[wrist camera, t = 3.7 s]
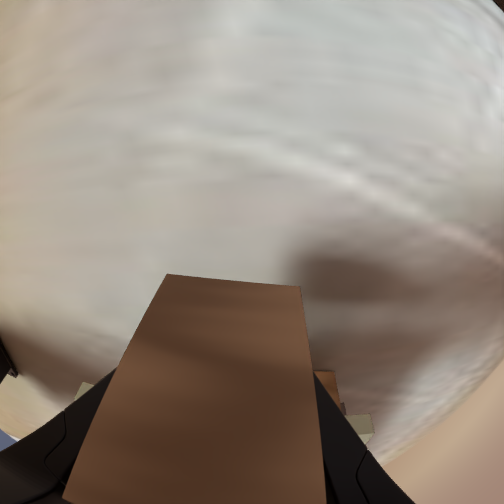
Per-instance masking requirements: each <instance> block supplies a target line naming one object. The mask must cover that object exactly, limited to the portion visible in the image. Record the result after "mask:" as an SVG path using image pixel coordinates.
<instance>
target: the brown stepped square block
mask: <svg viewBox="0 0 504 504" xmlns="http://www.w3.org/2000/svg"><path fill="white" fill-rule="evenodd" d="M62 498H63V499H64V500H66V501H67V502H69V503H70V504H327V503H326V490H325V478H324V467H323V456H322V446H321V437H320V427H319V419H318V410H317V402H316V394H315V386H314V378H313V371H312V363H311V356H310V349H309V342H308V335H307V329H306V322H305V316H304V309H303V303H302V297H301V291H300V287H299V286H287V285H275V284H263V283H252V282H241V281H231V280H220V279H210V278H201V277H191V276H182V275H173V274H166V276H165V278H164V280H163V282H162V283H161V285H160V287H159V289H158V290H157V292H156V294H155V296H154V298H153V300H152V301H151V303H150V305H149V307H148V309H147V311H146V312H145V314H144V316H143V318H142V320H141V322H140V324H139V326H138V328H137V329H136V331H135V333H134V335H133V337H132V339H131V341H130V343H129V345H128V347H127V349H126V351H125V353H124V355H123V357H122V359H121V361H120V363H119V365H118V367H117V369H116V371H115V373H114V375H113V377H112V379H111V382H110V384H109V386H108V388H107V390H106V392H105V394H104V396H103V399H102V401H101V403H100V405H99V407H98V410H97V412H96V414H95V416H94V418H93V421H92V423H91V425H90V428H89V430H88V432H87V435H86V437H85V439H84V442H83V444H82V447H81V449H80V451H79V454H78V456H77V459H76V461H75V464H74V466H73V469H72V472H71V474H70V477H69V479H68V482H67V485H66V487H65V490H64V493H63V496H62Z"/></svg>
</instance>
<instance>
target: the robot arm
mask: <svg viewBox="0 0 504 504" xmlns="http://www.w3.org/2000/svg"><path fill="white" fill-rule="evenodd" d="M116 369H117V367H116V368H115V369H114V370H113V371H112V372H110V373H109V374H108V375H107V376H105V377H104V378H103V379H102V380H100V381H99V382H98V383H97V384H95V385H94V386H93V387H92V388H90V389H89V390H88V391H87V392H85V393H84V394H83V395H82V396H80V397H79V398H78V399H77V400H75V401H74V402H73V403H72V404H70V405H69V406H68V407H67V408H65V409H64V411H61V412H60V413H59V414H58V415H56V416H55V417H54V418H53V419H51V420H50V421H49V422H47V423H46V424H45V425H43V426H42V427H40V428H39V429H37V430H36V431H34V432H33V433H31V434H29V435H28V436H26V437H24V438H23V439H21V440H19V441H18V442H16V443H14V444H13V445H11V446H9V447H8V448H6V449H4V450H2V451H0V504H70V503H69V502H67V501H66V500H64V499H63V498H62V496H63V493H64V490H65V487H66V485H67V482H68V479H69V477H70V474H71V472H72V469H73V466H74V464H75V461H76V459H77V456H78V454H79V451H80V449H81V447H82V444H83V442H84V439H85V437H86V435H87V432H88V430H89V428H90V425H91V423H92V421H93V418H94V416H95V414H96V412H97V410H98V407H99V405H100V403H101V401H102V399H103V396H104V394H105V392H106V390H107V388H108V386H109V384H110V382H111V379H112V377H113V375H114V373H115V371H116ZM312 371H313V370H312ZM7 374H9V375H11V376H13V377H15V378H17V376H18V372H17V371H16V369H15V367H14V366H13V364H12V362H11V360H10V359H9V357H8V355H7V353H6V351H5V350H4V348H3V346H2V344H1V342H0V384H1V382H2V381H3V379H4V378H5V376H6V375H7ZM313 378H314V386H315V394H316V402H317V410H318V419H319V427H320V437H321V446H322V456H323V467H324V478H325V490H326V503H327V504H415V503H414V502H413V501H412V500H411V499H410V498H409V497H408V496H407V495H406V494H405V493H404V492H403V490H402V489H401V488H400V487H399V486H398V485H397V484H396V483H395V482H394V481H393V480H392V479H391V478H390V477H389V475H388V474H387V473H386V472H385V471H384V470H383V468H382V467H381V466H380V464H379V463H378V462H377V460H376V459H375V458H374V456H373V455H372V454H371V452H370V451H369V450H367V447H366V445H365V444H364V443H363V441H362V440H361V438H360V437H359V435H358V434H357V433H356V431H355V430H354V428H353V427H352V426H351V424H350V423H349V421H348V420H347V419H346V417H345V416H344V414H343V413H342V411H341V410H340V409H339V407H338V406H337V404H336V403H335V401H334V400H333V399H332V397H331V396H330V394H329V393H328V391H327V390H326V388H325V387H324V386H323V384H322V383H321V381H320V380H319V378H318V377H317V376H316V374H315V373H314V371H313Z"/></svg>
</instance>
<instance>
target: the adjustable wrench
mask: <svg viewBox="0 0 504 504" xmlns="http://www.w3.org/2000/svg"><path fill="white" fill-rule="evenodd" d="M494 1H495V2H496V3H497V4H498V6H499V7H500V8H501V9H502V11H503V12H504V0H494Z"/></svg>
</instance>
